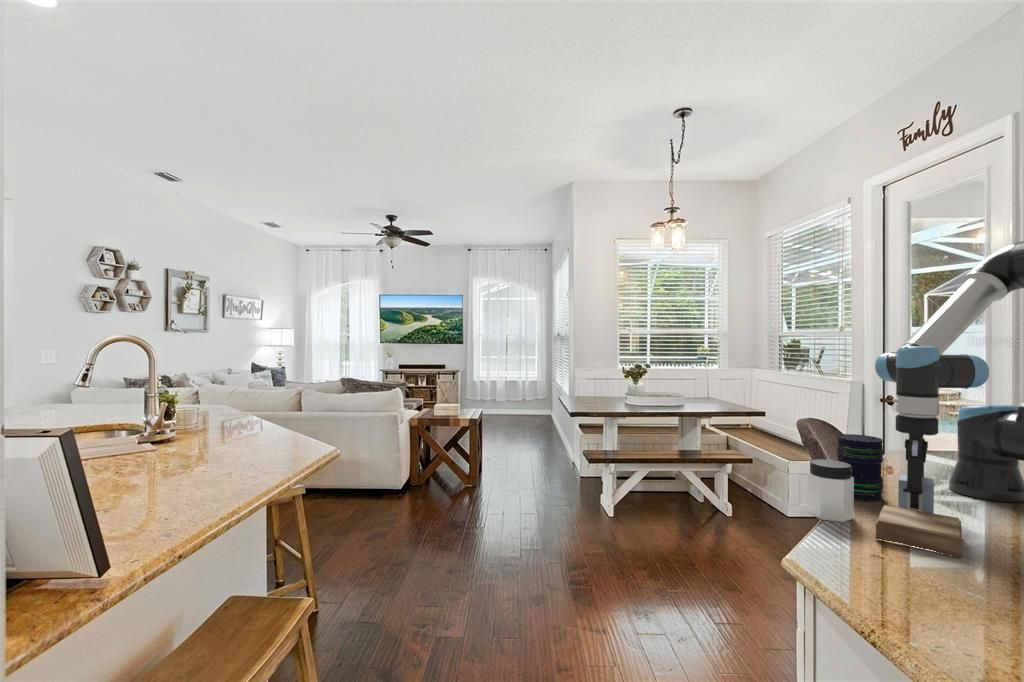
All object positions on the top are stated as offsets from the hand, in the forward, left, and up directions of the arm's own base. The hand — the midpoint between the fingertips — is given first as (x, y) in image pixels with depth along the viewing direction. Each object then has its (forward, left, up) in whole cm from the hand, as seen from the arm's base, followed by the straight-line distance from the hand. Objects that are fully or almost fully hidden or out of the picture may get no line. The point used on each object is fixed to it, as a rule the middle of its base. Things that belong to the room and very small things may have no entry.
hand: (915, 517), depth 116 cm
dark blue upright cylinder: (-12, -12, 0) cm, 17 cm away
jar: (+10, -15, 0) cm, 18 cm away
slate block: (0, 0, 0) cm, 0 cm away
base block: (+14, +1, 0) cm, 14 cm away
